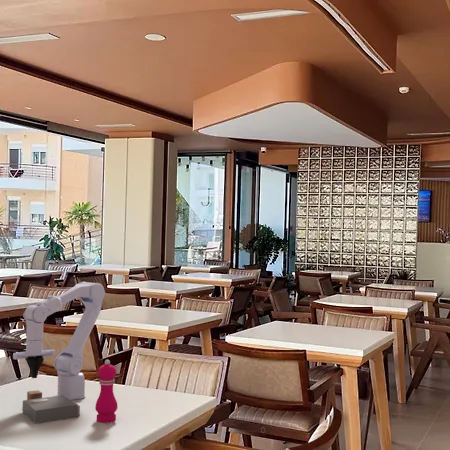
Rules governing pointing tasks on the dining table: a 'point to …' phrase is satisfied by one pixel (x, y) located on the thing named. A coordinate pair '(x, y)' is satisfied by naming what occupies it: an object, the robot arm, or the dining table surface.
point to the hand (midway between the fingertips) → (34, 377)
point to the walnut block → (34, 395)
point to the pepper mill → (106, 394)
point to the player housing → (49, 409)
